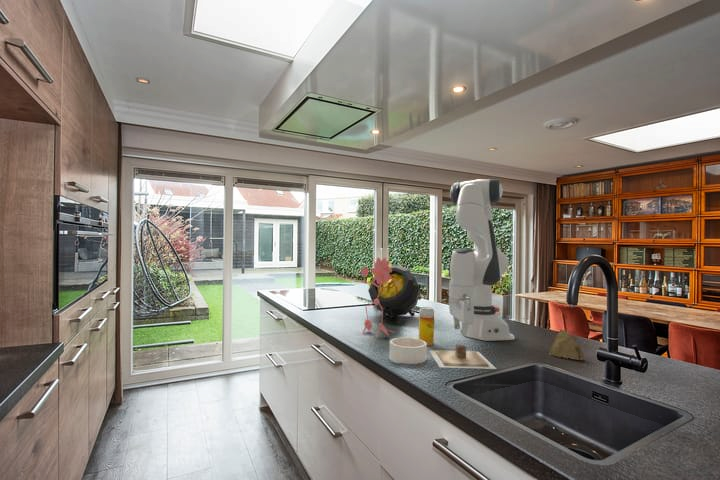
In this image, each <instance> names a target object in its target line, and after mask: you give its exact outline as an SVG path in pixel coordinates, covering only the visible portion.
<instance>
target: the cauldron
mask: <svg viewBox="0 0 720 480" xmlns="http://www.w3.org/2000/svg"><path fill="white" fill-rule="evenodd" d="M390 267H391V269H392V272H391V273H389V274H390V276H391V277H392V279H393V280H394V281H395V282H396V283H397V284H398V285H399V287H398V286H397V285H396V284H395V283H394V282H393V281H392V280H391V278H390V279H387V283H386V284H384V283H382V285H381V286H380V284H381V283H380V284H377V280H375V281H374V283H375V284H376V285H378V286H380V288H378V287H377V286H375V285H374V284H372V283H369V284H370V285H369V288H368V294H369V296H370V300H371V302H372V303H374V300H375V299H377V297H378V293H379V289H381V290H380V293H379V297H378V300H379V301H380V305H381V307H382V309H383V317H382V318H383V319H386V320H388V321H389V320H391V319H393V318H395V317H401V316H404V315H407V314H409V316H410V317H415V315H416V314H415V311H413V310H412V309H414V308H415V307H416V306H417V305H418V302H419V300H422V295H420V294H421V290H420V289H421V287H420V286H419V283H418V282H417V279H416V278H415V275H413V274H412V270H411V268H409V267H403V266H401V265H397V264H396V265H392V266H390ZM373 280H374V276H373V277H372V279H371V282H372V281H373ZM380 305H379V304H378V305H375V307H376V309H377V310H378V311H380V312H382V309H381V307H380Z"/></svg>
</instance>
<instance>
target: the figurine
mask: <svg viewBox="0 0 720 480" xmlns="http://www.w3.org/2000/svg"><path fill="white" fill-rule="evenodd" d="M391 267H392V266H390V261H389V260H387V258H386V257H384V258H382V259H381V258H380V257H379V256H378V257H377V258H376V262H375V261H374V267H373V268H371V273H372V274H373V277H374V280H373V281H372V280H371V281H366V277H367V276H368V275H369V269H368V268H367V266H363V267H362V268H361V269H360V273H361V276H362V277H363V283H364V284H371V283H372V284H374V285H375V286H377V287H378V288H380V286H381V285H382V283H384V284H386V283H387V279H390V278H391V280H392V281H393V282H394V283H395V284H396V285H397V286H398V287H399V285H398V284H397V283H396V282H395V281H394V280H393V279H392V277H391V276H390V274H389V273H391V272H392V269H391ZM375 280H377V284H380V283H381V284H380V286H378V285H376V284H375V283H374V281H375ZM380 290H381V289H379V293H380ZM379 293H378V297H379ZM378 297H377V299H375V300H374V303H373V302H372V303H370V304H368V305H365V312H366V320H365V321H364V329H363V331H362V334H365V331H366V330H367V331H371V330H373V329H374V330H375V329H376V328H375V327H373V323H372V322H371V321H370V320H369V317H368V310H367V309H368V308H367V307H369V306H371V305H373V304H374V305H375V306H376V305H378V304H379V305H380V301H379V300H378ZM380 307H381V305H380ZM381 309H382V307H381ZM381 318H384V317H383V309H382V311H381ZM378 326H379V328H378V329H377V330H378V331H377V334H376V336H375V338H376V339H377V338H378V335H379V334H380V331H382V332H383V333H384V334H385V335H386V336H387V337H389V336H390V334H389V332H391V333H394V331H393V330H390V329H389V330H388V329H387V328H386V327H385V326H384V324H383V319H381V322H379V324H378ZM388 331H389V332H388Z"/></svg>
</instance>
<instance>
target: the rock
mask: <svg viewBox="0 0 720 480" xmlns="http://www.w3.org/2000/svg"><path fill="white" fill-rule="evenodd" d="M548 356H553V357H556V356H557V357H556V358H561V357H563V358H562V359H568V358H570V360H577V361H584V360H585V357H584V353H583V351H582V349H581V347H580V345H579V344H578V343H577V342H576V340H575V339H574V338H573V337H572V335H570V333H568V331H567V330H564V329H562V328H561V329H560V331H559V332H558V333H557V334H556V336H555V338H554V341H553V343H552V344H551V347H550V350H549V353H548Z"/></svg>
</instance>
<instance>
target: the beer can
mask: <svg viewBox="0 0 720 480" xmlns="http://www.w3.org/2000/svg"><path fill="white" fill-rule="evenodd" d="M418 312H419V315H418V317H419V318H418V339H420V340H423V341H425V342H426V343H427V346H432V345H433V344H434V343H435V342H434V340H435V339H434V337H435V335H434V333H435V310H434V308H433V307H430V306H422V307H420V308H419V311H418Z"/></svg>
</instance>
